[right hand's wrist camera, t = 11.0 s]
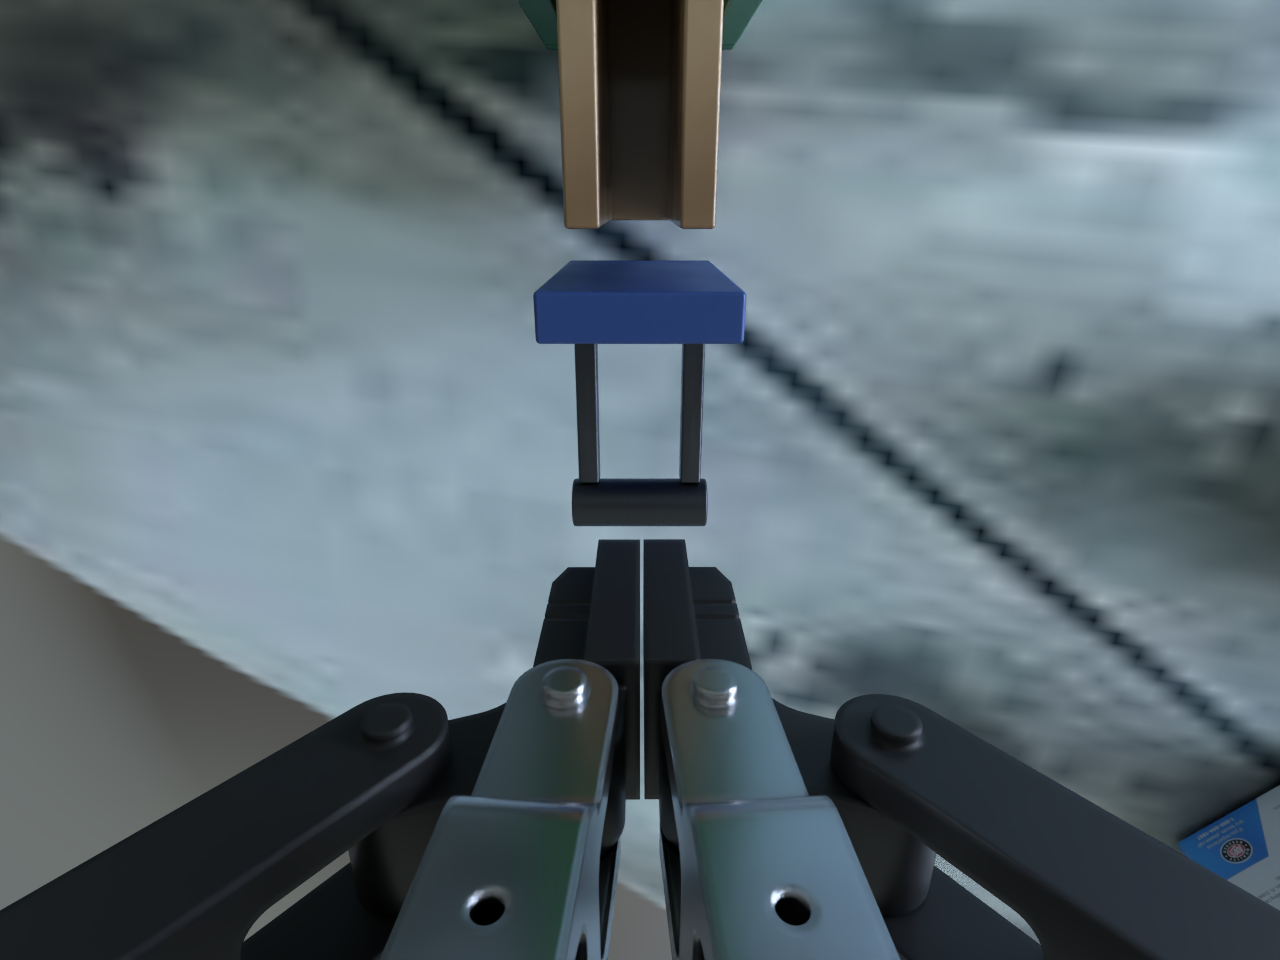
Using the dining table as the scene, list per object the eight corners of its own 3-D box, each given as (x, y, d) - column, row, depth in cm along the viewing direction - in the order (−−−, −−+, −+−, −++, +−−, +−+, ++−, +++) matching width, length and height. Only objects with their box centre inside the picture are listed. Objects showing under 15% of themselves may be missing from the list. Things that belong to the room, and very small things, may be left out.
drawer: (702, 458, 27) (731, 574, 19) (576, 457, 27) (547, 574, 19) (736, -479, 18) (822, -1087, 10) (543, -479, 18) (457, -1089, 9)
